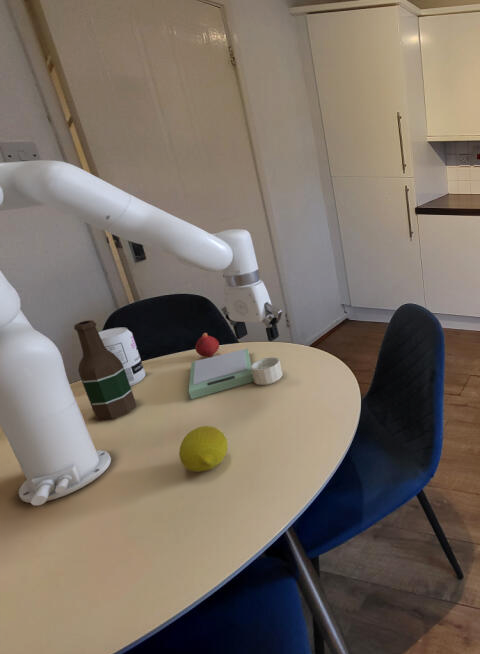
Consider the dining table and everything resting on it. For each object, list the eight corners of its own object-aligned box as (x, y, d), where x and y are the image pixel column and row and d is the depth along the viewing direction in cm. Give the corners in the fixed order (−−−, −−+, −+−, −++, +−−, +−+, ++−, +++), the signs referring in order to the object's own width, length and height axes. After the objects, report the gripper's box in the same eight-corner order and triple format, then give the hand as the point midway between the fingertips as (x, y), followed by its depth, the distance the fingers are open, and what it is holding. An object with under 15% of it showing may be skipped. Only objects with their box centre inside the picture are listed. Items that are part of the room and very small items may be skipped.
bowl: (284, 380, 114) (280, 364, 112) (255, 389, 110) (251, 372, 109) (280, 370, 119) (277, 354, 118) (253, 377, 116) (249, 362, 114)
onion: (209, 362, 124) (203, 338, 122) (193, 361, 125) (187, 337, 123) (226, 353, 130) (220, 330, 127) (210, 351, 131) (204, 328, 128)
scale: (253, 381, 114) (251, 372, 113) (190, 399, 106) (187, 389, 105) (249, 355, 128) (247, 346, 127) (193, 369, 121) (190, 360, 120)
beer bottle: (86, 418, 100) (50, 328, 92) (122, 399, 107) (91, 314, 99) (110, 423, 98) (75, 331, 90) (145, 403, 105) (115, 317, 98)
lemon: (231, 472, 83) (222, 438, 80) (182, 489, 79) (171, 455, 76) (231, 440, 91) (222, 410, 89) (187, 455, 87) (177, 423, 85)
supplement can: (99, 387, 112) (80, 338, 108) (133, 372, 120) (117, 325, 115) (120, 392, 110) (101, 341, 105) (153, 376, 117) (137, 328, 113)
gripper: (201, 281, 104) (218, 342, 109) (261, 284, 101) (276, 346, 106) (226, 272, 111) (241, 329, 116) (283, 274, 108) (296, 333, 113)
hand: (258, 337), depth 111 cm, fingers open, 9 cm apart
